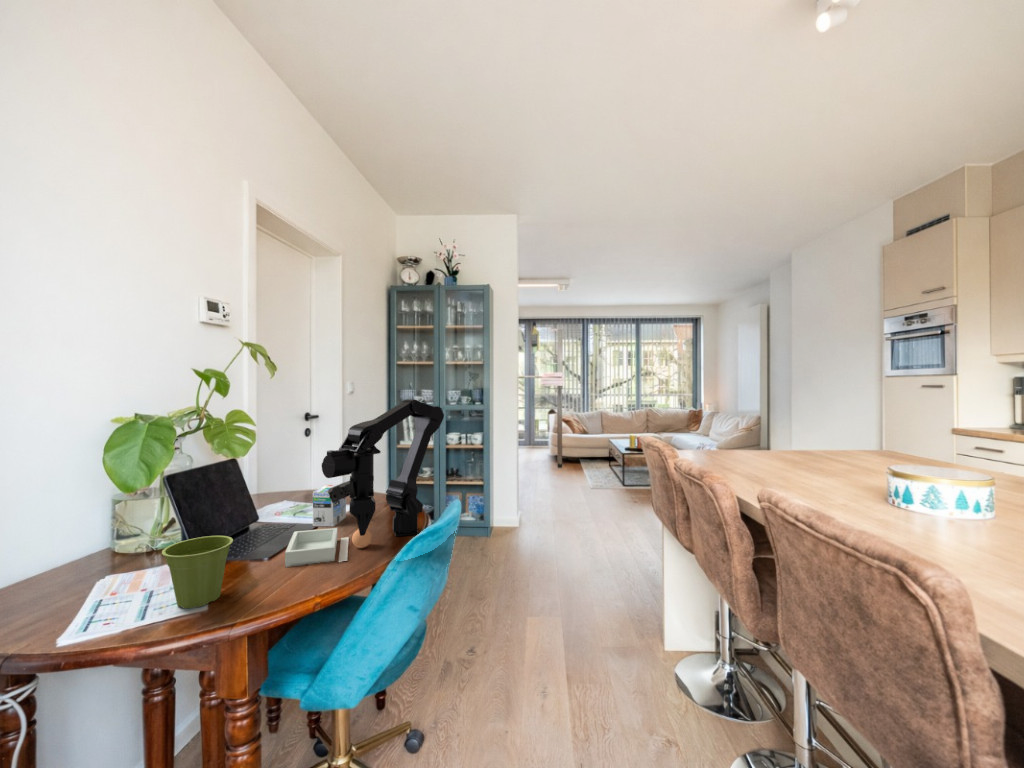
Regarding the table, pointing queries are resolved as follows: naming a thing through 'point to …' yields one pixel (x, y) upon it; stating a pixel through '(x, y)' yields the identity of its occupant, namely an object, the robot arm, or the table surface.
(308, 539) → the tray
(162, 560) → the table surface
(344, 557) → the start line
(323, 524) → the light bulb box
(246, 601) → the table surface
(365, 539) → the ball
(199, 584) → the plant pot
